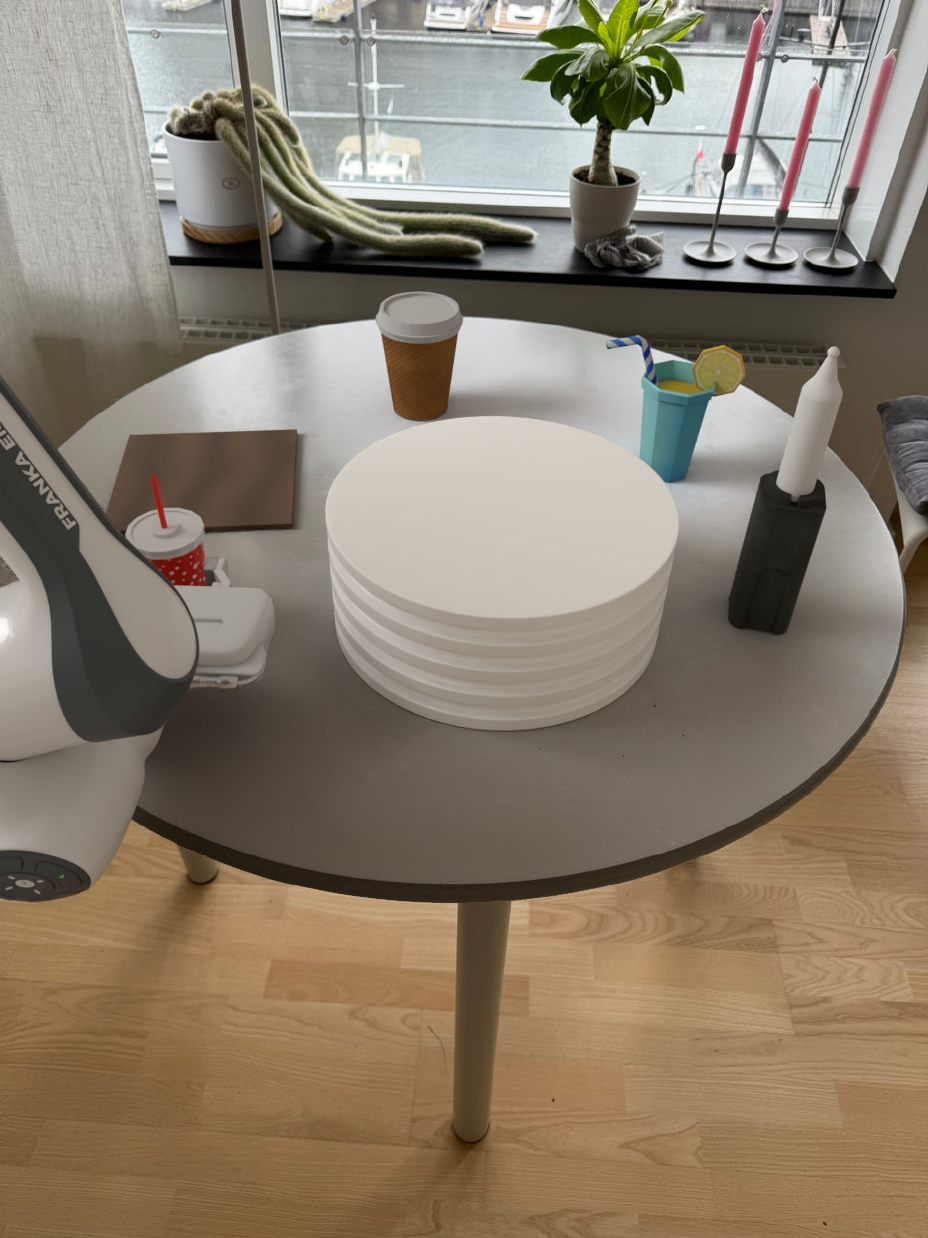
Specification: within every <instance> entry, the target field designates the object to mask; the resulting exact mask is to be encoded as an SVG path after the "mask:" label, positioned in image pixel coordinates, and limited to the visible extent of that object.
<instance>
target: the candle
mask: <svg viewBox="0 0 928 1238" xmlns="http://www.w3.org/2000/svg"><path fill="white" fill-rule="evenodd" d="M840 354H841V351H840V349H839V347H838V346H834V345H833V346H831V347H830V348H828V350H827V356H826V358H825V359H824V361H823V362H822V364H821V366H820V367H819V369H818V370H817V371H816V373H815V374H814V376H812V377H811V378H810V379H808V380H807V381H806V383H804V384H803V385H802V386H801V391H800V394H799V398H798V400H797V401H798V402H797V404H796V409H795V413H794V416H793V418H792V423H791V427H790V430H789V434H788V438H787V441H786V445H785V448H784V451H783V452H784V453H783V455H782V459H781V463H780V467H779V469H777V470H774V471H772V472H767V473H764V474H763V475H761V476H760V478H759V482H758V485H757V490H756V493H755V497H754V501H753V505H752V509H751V513H750V516H749V518H748V519H749V520H748V523H747V527H746V530H745V535H744V539H743V542H742V547H741V550H740V554H739V558H738V562H737V565H736V568H735V573H734V578H733V580H732V584H731V588H730V592H729V596H728V608H727V620H728V622H729V624H730V625H731V626H733V627H734V628H736V629H739V630H744V629H748V630H753V631H760V632H766V633H771V634H772V635H778V634H779V635H783V634H784V633H787V631H788V629H789V626H790V623H791V619H792V617H793V613H794V611H795V607H796V604H797V601H798V598H799V596H800V592H801V588H802V586H803V583H804V579H805V576H806V573H807V570H808V568H809V564H810V561H811V558H812V555H813V551H814V549H815V546H816V542H817V539H818V536H819V533H820V530H821V527H822V524H823V521H824V517H825V514H826V511H827V507H828V506H827V498H826V487H825V485H824V483H823V482H822V481H821V480H820V479H819V475H820V471H821V467H822V464H823V461H824V458H825V455H826V451H827V448H828V445H829V441H830V439H831V435H832V433H833V428H834V425H835V422H836V419H837V416H838V412H839V409H840V406H841V403H842V399H843V394H844V392H843V389H842V386H841V384H840V381H839V380H838V379H839V378H838V377H839V376H838V373H839V372H838V357H839V356H840Z"/></svg>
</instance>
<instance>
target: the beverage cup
mask: <svg viewBox="0 0 928 1238" xmlns="http://www.w3.org/2000/svg"><path fill="white" fill-rule="evenodd" d="M150 479H151V484H152V488H153V492H154V497H155V501H156V506H157V510H153V511H149V512H147V513H145V514H143V515H141V516H139V517H137V518H136V519H135V520H134V521H133V522H131V523H130V524H129V525H128V528H127V531H126V533H125V535H124V536H125V537H126V538H127V539H128V540H129V541H130V542H131V543H132V544H133V545H134V546H135V547H136V548H137V549H138V550H139V551H140V552H141V553H142V554H143V555H144V556H145V557H146V558H147V559H148V560H149V561H150V562H151V563H152V564H153V565H154V566H155V567H157V568H158V569H159V570H160V571H161V572H162V573H163V574H164V576H165V577H166V578H167V579H168V580H169V581H170V582H171V583H172V584H173V585H179V586H207V585H206V581H205V580H206V577H205V575H204V570H203V569H204V566H205V564H206V556H205V549H204V538H205V534H206V532H205V531H204V524H203V522H202V519H201V517H200V516H198V515H197V514H195V513H194V512H192V511H190V510H186V509H182V508H163V504H162V500H161V495H160V491H159V486H158V481H157V477H156V475H155V474H152V475H150Z"/></svg>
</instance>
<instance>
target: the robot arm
mask: <svg viewBox="0 0 928 1238" xmlns="http://www.w3.org/2000/svg"><path fill="white" fill-rule="evenodd" d="M0 557H1V558H2V560H3V561H4V562H5V564H7V566H8V567H9V568H10V570H11V571H12V572H13V573H14V575H15V576H16V578H17V579H18V580H14V581H13V582H10V583H8V584H6V585H3V586H0V899H1V900H5V901H9V902H10V901H11V902H13V901H16V902H23V903H30V904H31V903H32V904H33V903H44V902H51V901H57V900H62V899H65V898H70V897H73V896H77V895H80V894H81V893H83V892H86V891H88V890H90V889H91V888H92V887H94V886H95V884H97V882H99V880H100V879H101V878H102V876H103V875H104V874H105V872H106V871H107V870H108V868H109V867H110V865H111V864H112V862H113V861H114V858H115V856H116V854H117V853H118V850H119V849H120V847H121V845H122V843H123V841H124V839H125V836H126V834H127V832H128V829H129V827H130V824H131V822H132V819H133V816H134V814H135V811H136V808H137V805H138V802H139V799H140V797H141V795H142V791H143V788H144V783H145V777H146V771H145V769H146V767H145V764H146V760H147V758H148V757H149V756H150V755H151V754H152V752H153V751H154V750H155V748H156V747H157V745H158V743H159V741H160V739H161V735H162V733H163V730H164V728H165V727H164V726H165V724H166V723H167V722H168V721H169V720H170V719H171V717H172V716H173V715H174V714H175V712H176V711H177V710H178V708H179V707H180V705H181V704H182V702H183V700H184V699H185V697H186V695H187V693H188V691H205V690H206V691H208V690H214V691H215V690H216V691H219V692H235V691H239V690H240V687H243V686H244V687H245V686H247V685H250V684H253V683H255V682H258V681H260V680H261V679H262V677H263V675H264V672H265V669H266V665H267V661H268V653H267V652H268V650H269V648H270V645H271V642H272V640H273V638H274V634H275V631H276V613H275V606H274V601H273V598H272V597H271V595H269V593H268V592H267V591H266V590H265V589H264V588H261V587H243V586H242V587H239V586H232V582H231V580H230V578H229V577H230V576H229V574H230V569H229V562H228V559H227V557H207V558H206V559H205V566H204V569H203V570H204V575H205V577H206V580H205V581H206V585H207V586H179V585H173V584H172V583H171V582H170V581H169V580H168V579H167V578H166V577H165V576H164V574H163V573H162V572H161V571H160V570H159V569H158V568H157V567H155V566H154V565H153V564H152V563H151V562H150V561H149V560H148V559H147V558H146V557H145V556H144V555H143V554H142V553H141V552H140V551H139V550H138V549H137V548H136V547H135V546H134V545H133V544H132V543H131V542H130V541H129V540H128V539H127V538H126V535H123V534H122V533H121V532H120V530H119V529H118V528H117V527H116V526H115V524H114V523H113V522H112V521H111V519H110V518H109V517H108V515H107V514H106V511H105V510H104V509H103V508H102V506H101V505H100V504H99V502H98V501H97V499H96V498H95V497H94V496H93V494H92V493H91V491H90V490H89V489H88V487H86V485H85V484H84V483H83V481H82V480H81V478H80V477H79V476H78V475H77V473H76V472H75V471H74V469H73V468H72V466H71V465H70V464H69V463H68V461H67V460H66V459H65V457H64V456H63V455H62V453H61V452H60V451H59V450H58V448H57V447H56V446H55V444H54V442H52V440H51V439H50V438H49V436H48V435H47V434H46V432H45V431H44V430H43V428H42V427H41V426H40V425H39V423H38V422H37V421H36V419H35V418H34V417H33V415H32V414H31V412H30V411H29V409H28V408H27V407H26V406H25V405H24V403H23V402H22V401H21V400H20V398H19V397H18V395H17V394H16V393H15V391H14V390H13V389H12V387H11V386H10V385H9V384H8V382H7V381H6V380H5V378H3V376H2V375H1V374H0Z"/></svg>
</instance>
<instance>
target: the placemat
mask: <svg viewBox="0 0 928 1238" xmlns="http://www.w3.org/2000/svg"><path fill="white" fill-rule="evenodd" d="M127 438H128V439H127V443H126V446H125V448H124V451H123V455H122V458H121V461H120V465H119V468H118V471H117V476H116V478H115V482H114V485H113V487H112V490H111V494H110V498H109V501H108V504H107V507H106V511H105V513H106V514H107V515H108V517H109V518H110V519H111V521H112V522H113V523H114V524H115V526H116V527H117V528H118V529H119V530H120V532H121V533H122V534H123V535H124V536H126V535H125V533H126V531H127V528H128V525H129V524H130V523H131V522H133V521H134V520H135V519H136V518H137V517H139V516H141V515H143V514H145V513H147V512H149V511H153V510H157V506H156V501H155V497H154V492H153V488H152V484H151V479H150V475H152V474H155V475H156V477H157V481H158V486H159V491H160V495H161V500H162V504H163V508H182V509H186V510H190V511H192V512H194V513H195V514H197V515H198V516H200V517H201V519H202V522H203V524H204V531H205V533H212V532H213V533H214V532H236V531H237V532H239V531H256V530H257V531H259V530H281V529H282V530H283V529H293V528H294V512H295V511H294V509H295V491H296V489H295V488H296V469H297V447H298V429H296V428H292V429H290V428H289V429H262V430H261V429H260V430H236V431H234V430H233V431H231V430H230V431H208V432H205V431H204V432H203V431H202V432H178V433H177V432H176V433H173V432H172V433H148V434H146V433H145V434H129V436H128V437H127Z"/></svg>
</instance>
